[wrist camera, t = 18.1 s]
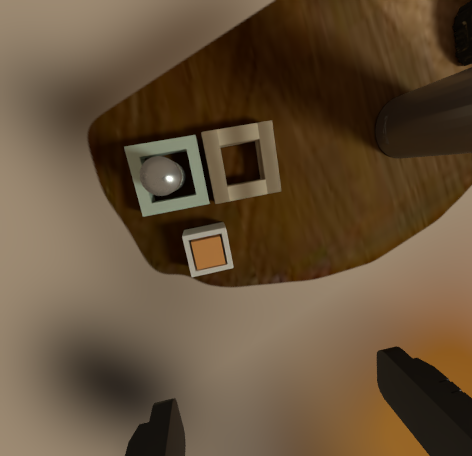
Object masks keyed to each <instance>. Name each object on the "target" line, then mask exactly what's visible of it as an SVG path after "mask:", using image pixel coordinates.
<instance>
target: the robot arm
mask: <svg viewBox="0 0 472 456" xmlns="http://www.w3.org/2000/svg"><path fill="white" fill-rule="evenodd" d="M375 134H376V140H377V143H378V145H379V147H380V148H381V150H382V151H383V152H384V153H385V154H386V155H388V156H390V157H393V158H411V157H425V156H438V155H450V154H462V153H472V67H471V68H469V69H466V70H464V71H461V72H459V73H456V74H454V75H451V76H449V77H446V78H443V79H441V80H438V81H436V82H433V83H431V84H428V85H426V86H423V87H421V88H418V89H415V90H413V91H410V92H408V93H405V94H403V95H401V96H398V97H396V98H393V99H392V100H391V101H389V102H388V103H387V104H386V105H385V106H384V107H383V109H382V110H381V112H380V114H379V116H378V118H377V122H376V129H375ZM377 382H378V387H379V389H380V392H381V393H382V395H383V397H384V399H385V400H386V402H387V403H388V404H389V405H390V406H391V408H392V409H393V410H394V412H395V413H396V414H397V415H398V417H399V418H400V419H401V420H402V422H403V423H404V424H405V425H406V426H407V428H408V429H409V430H410V432H411V433H412V434H413V435H414V437H415V438H416V439H417V440H418V442H419V443H420V444H421V445H422V446H423V448H424V449H425V450H426V452H427V453H428V454H429V455H430V456H472V398H471V397H469V396H468V395H467V394H466V393H463V392H462V391H461V389H460V388H459V387H457V386H456V385H455V384H454V383H453V382H450V381H449V379H448V378H447V377H446V376H444V375H443V374H442V373H441V372H440V371H439V370H437V369H436V368H435V367H434V366H432V365H430V364H428V363H426V362H424V361H422V360H420V359H419V358H414V359H413V358H411V357H410V356H409V355H408V354H407V353H406V352H405V351H404V350H402V349H401V348H400V347H392V348H388V349H384V350H379V351H378V352H377ZM125 456H185V433H184V427H183V424H182V420H181V416H180V413H179V409H178V405H177V401H176V399H175V398H174V399H169V400H165V401H161V402H157V403H154V405H153V408H152V412H151V416H150V421H149V422H148V423H144V424H140V425H139V426H138V428H137V429H136V431H135V433H134V434H133V436H132V438H131V439H130V441H129V443H128V447H127V451H126V454H125Z"/></svg>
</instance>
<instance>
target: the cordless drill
mask: <svg viewBox="0 0 472 456" xmlns="http://www.w3.org/2000/svg"><path fill="white" fill-rule="evenodd" d="M453 28H454V31H455V30H456V33H455V34H454V37H455V36H456V39H455V42H457V45H456V46H455V48H457V52H456V57H458V58H459V62H462V64H463V65H464V66H466V65H469V64H472V0H471V1H470V2H468V3H467V4H465V5H464V6H462V7H461V8H460V9H459V12H458V16H457V17H456V18H455V24H454V25H453Z"/></svg>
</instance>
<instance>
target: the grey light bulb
mask: <svg viewBox="0 0 472 456" xmlns="http://www.w3.org/2000/svg"><path fill="white" fill-rule="evenodd" d="M185 180H186V173H185V171H184V169H183V167H182V166H181V165H179V164H178V163H176V162H174V161H172V160H170V159H168V158H166V157H161V156H155V157H151V158H149V159H148V160H146V161H145V162H144V163H143V165H142V166H141V169H140V181H141V184H142V185H143V187H144V188H145V189H146V190H147V191H148V192H149V193H151V194H153V195H156V196H165V195H168V194H170V193H172V192H174V191H176V190H178V189H179V188H181V187H182V186H183V185H184V183H185Z"/></svg>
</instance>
